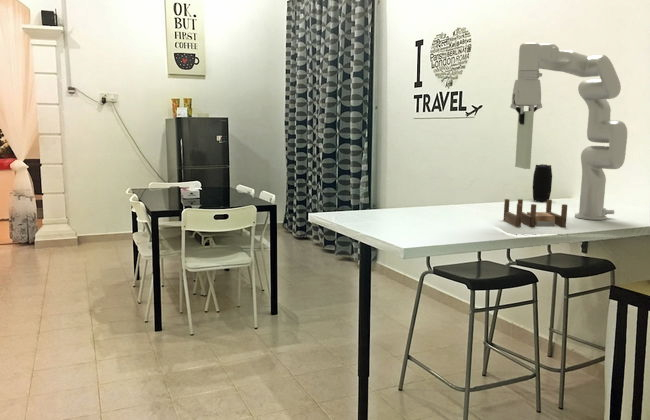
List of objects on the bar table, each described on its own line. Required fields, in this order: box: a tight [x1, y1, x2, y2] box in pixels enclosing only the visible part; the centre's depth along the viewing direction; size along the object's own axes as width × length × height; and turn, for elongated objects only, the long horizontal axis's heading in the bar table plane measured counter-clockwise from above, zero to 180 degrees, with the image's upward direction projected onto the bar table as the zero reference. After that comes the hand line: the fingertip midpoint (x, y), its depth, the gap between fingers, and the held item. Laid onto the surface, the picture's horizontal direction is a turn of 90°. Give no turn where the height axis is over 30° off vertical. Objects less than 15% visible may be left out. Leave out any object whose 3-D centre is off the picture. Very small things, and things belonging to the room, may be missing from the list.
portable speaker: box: [532, 163, 553, 203], centre depth 298 cm, size 9×9×20 cm
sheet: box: [514, 110, 535, 170], centre depth 220 cm, size 2×11×22 cm, turn 1°
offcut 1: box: [526, 211, 555, 221], centre depth 224 cm, size 8×10×2 cm
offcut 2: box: [535, 221, 556, 227], centre depth 225 cm, size 8×10×2 cm
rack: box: [503, 198, 568, 228], centre depth 224 cm, size 19×16×10 cm
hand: (525, 124), depth 219 cm, fingers closed on sheet, 2 cm apart
